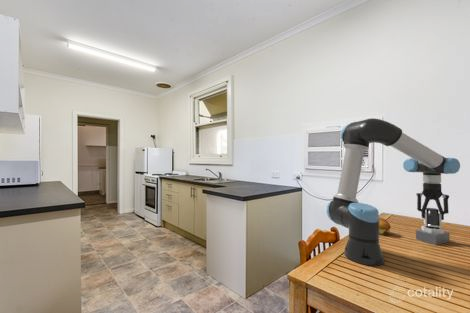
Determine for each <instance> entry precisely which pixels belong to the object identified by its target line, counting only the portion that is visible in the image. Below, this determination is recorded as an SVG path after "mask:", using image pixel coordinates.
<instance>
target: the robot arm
mask: <svg viewBox="0 0 470 313" xmlns="http://www.w3.org/2000/svg"><path fill="white" fill-rule="evenodd" d="M340 138H341V142H342V143H343V144H342V145H343V147H344V148H345V152H344V158H343V160H342V161H343V163H342V167H341V173H340V178H339V182H338V187H337V188H338V189H337V193H336V194H334V195H333V198H332V200H331V201H330V202H328V204H327V206H326V214H327V217H328V219H329V220H330V221H332V223H334V224H336V225H340V226H342V227H344V228H347V229H348V240H347V242H346V244H345V247H344V256H345V258H347V259H348V260H350V261H352V262H355V263H357V264H360V265H365V266H374V265H377V266H382V265H384V263H385V256H384V254H383V251H382V248H381V245H380V234H379V218H380V216H379V210H378V208H376V207H375V206H373V205H371V204H367V203H364V202H359V201H358V199H357V198H356V197H357V193H358V188H359V182H360V177H361V172H362V165H363V160H364V156H365V151H366V152H367V151H368V150H369V149H370V148H369V146H370V144H372V143H376V144H377V143H378V144H381V145H383V146H385V147H392V148H394V149H395V150H397V151H399V152H401V153H402V154H404V155H406V156H408V157H409V158H406V159H405V160H404V161H403V163H402V166H403V170H405V171H406V172H408V173H422V189H423V190H422V191H421V192H416V197H417V198H416V199H417V201H416V202H417V203H416V205H417V207H416V210H417V211H418V212H421V218H422V219H423V224H424V225H427V213H426V208H428V205H429V202H430V201H431V200H433V201H434V202H435V203H436V206H437V209H438V210H439V227H440V228H442V221H444V219H445V218H444V217H445V215H447V214H449V198H450V195H448V194H444V193H443V192H442V184H441V183H442V174H445V175H449V174H451V175H453V174H454V175H455V174H456V173H458V172H459V171H460V168H461V163H460V161H459V160H458V158H455V157H445V156H443V155H441V154H439V153H438V152H436V151H435V150H433V149H432V148H430V147H428V146H426V145H424V144H423V143H421V142H419V141H418V140H416V139H414V138H412V137H411V136H409V135H407V134H406V133H404V132H403V130H402V129H401V128H400V127H399V126H396V124H393V123H392V122H388V121H387V120H383V119H380V118H374V117H373V118H367V119H363V120H358V121H353V122H351V123H348V124H346V125H345V126H343V128H342V129H341V132H340ZM423 196H424V202H423V204H422V197H423ZM441 197H442V199H443V202H442V203H443V206H442V203H441V200H440V198H441Z"/></svg>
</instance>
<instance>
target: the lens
mask: <svg viewBox="0 0 470 313" xmlns="http://www.w3.org/2000/svg"><path fill="white" fill-rule="evenodd" d="M425 212H426V213H427V225H426V226H427V227H429V228H433V229H439V227H440V226H439V213H440V212H439V209H438V208H435V207H427V208H426V211H425Z"/></svg>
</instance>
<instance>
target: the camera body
mask: <svg viewBox="0 0 470 313" xmlns="http://www.w3.org/2000/svg"><path fill="white" fill-rule="evenodd" d="M415 239H416V240H417V241H421V242H424V243H427V244H431V245H434V246H437V245H441V244H446V243H450V240H451V239H450V232H449V231H445V230H444V229H443V227H440V226H439V229H433V228H429V227H427V226H426V225H425V224H424V225H421V229H417V230H415Z"/></svg>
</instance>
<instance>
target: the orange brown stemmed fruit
mask: <svg viewBox="0 0 470 313" xmlns="http://www.w3.org/2000/svg"><path fill="white" fill-rule="evenodd" d="M391 229H392V227H391V224H390V223H389V221H388V220H387V219H386V218H384V217H379V235H388V234H389V233H391Z"/></svg>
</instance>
